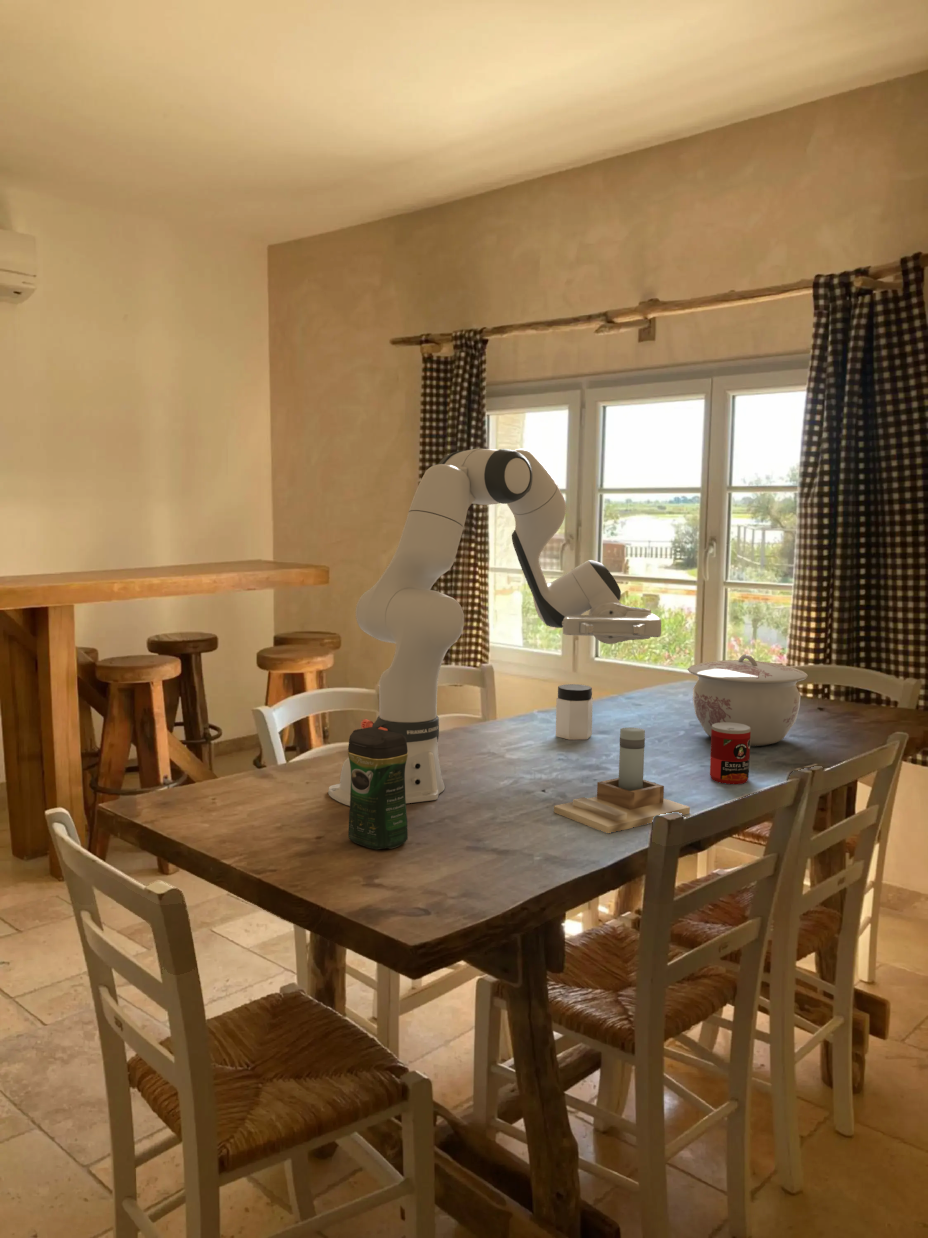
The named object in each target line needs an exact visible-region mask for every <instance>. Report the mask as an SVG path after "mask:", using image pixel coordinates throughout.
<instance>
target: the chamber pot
mask: <svg viewBox="0 0 928 1238" xmlns="http://www.w3.org/2000/svg"><path fill="white" fill-rule="evenodd" d="M745 659H746V660H745ZM687 670H688V672H689V673H690V674H691V675H693V676H694V675H695V676H696V677H697V681H696V683H695V684H694V686H693V687H692V702H693V708H694V709H693V710H694V714H695V716H696V718H697V719H698V721H699V723H700V725H701V728H703V730H704V732H705V734H706V735H707V736H708V737H710V738H711V728H712V725H713V724H715V723H720V722H731V723H740V724H744V725H747V726H749V727H750V730H751V734H750V736H751V737H750V747H764V746H765V747H766V746H768V745H772V744H776V743H779V742H781V741H782V740H783V739H784V738H785V737H786V736H787V735H788V733H789V731H790V730H791V729H792V727H793V725H794V724H795V723H796V722H797V717H798V714H799V710H800V706H801V693H800V691H799V689H798V687H797V685H796V684H797V683H798V682H801V681H804V680H806V679H807V678H808V676H809V674H807V673H806V672H805V671H803V670H801V669H798V668H795V667H792V666H789V665H785V664H781V663H773V662H768V661H759V660H758V661H757V660H755V658H753V656H752V655H749V654H748V653H745V654H743V655H741V656H740V657H739V658H738V659H729V660H728V659H725V660H724V659H723V660H715V661H714V660H713V661H705V662H699V663H696V664H692V665H691V666H689V667H688V668H687Z"/></svg>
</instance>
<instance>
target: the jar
mask: <svg viewBox="0 0 928 1238" xmlns="http://www.w3.org/2000/svg"><path fill="white" fill-rule="evenodd" d="M592 695H593V688H592V687H591V686H590V685H586V684H575V683H573V684H569V683H568V684H561V685H558V687H557V697H556V705H555V710H556V712H555V714H556V715H555V737H557V738H561V739H564V740H568V741H576V740H578V741H580V740H581V741H582V740H588V739H589V738H590V737H591V736H592V734H593V730H592V729H593V703H594V701H593V696H592Z"/></svg>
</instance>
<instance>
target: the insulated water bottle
mask: <svg viewBox="0 0 928 1238" xmlns="http://www.w3.org/2000/svg"><path fill="white" fill-rule="evenodd" d="M645 733H646V730H645V729H643V728H640V727H639V728H638V727H622V728H620V734H619V760H618V762H619V763H618V778H619V785H618V787H620V788H623V789H626V790H629V791H633V790H638V789H642V788H643V780H644V770H645V769H644V765H645V764H644V763H645V760H644V759H645V747H646V744H645V742H646V738H645V737H646V734H645Z"/></svg>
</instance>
